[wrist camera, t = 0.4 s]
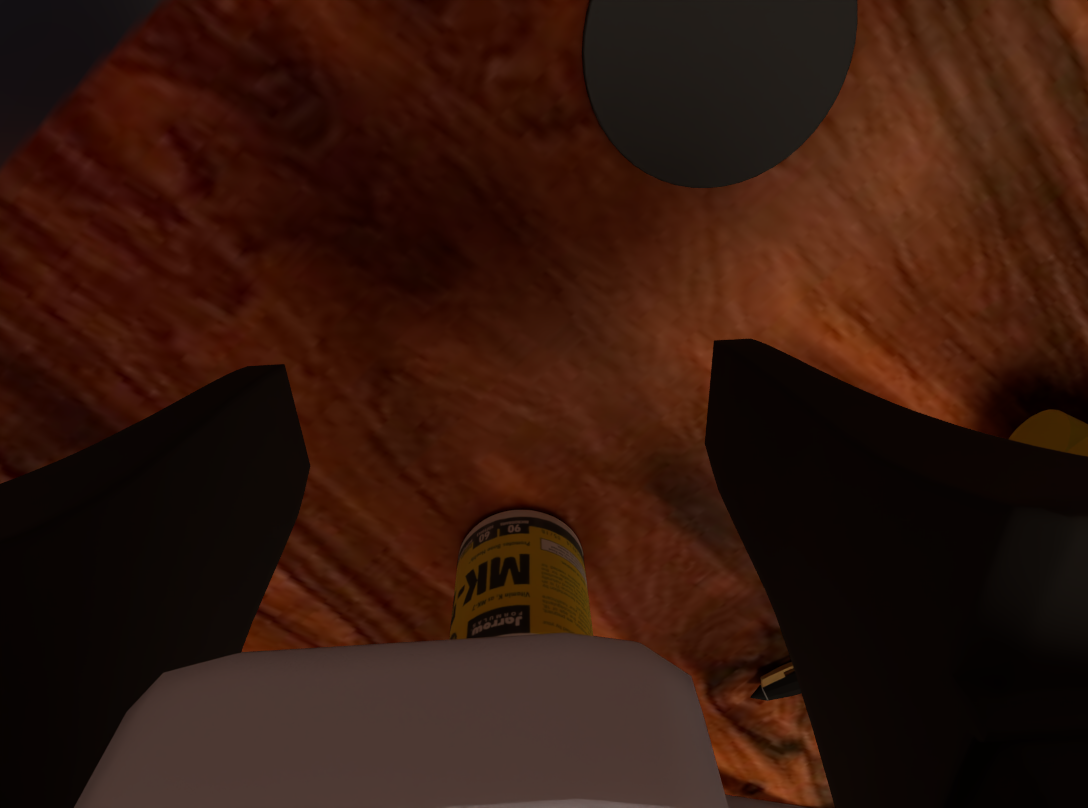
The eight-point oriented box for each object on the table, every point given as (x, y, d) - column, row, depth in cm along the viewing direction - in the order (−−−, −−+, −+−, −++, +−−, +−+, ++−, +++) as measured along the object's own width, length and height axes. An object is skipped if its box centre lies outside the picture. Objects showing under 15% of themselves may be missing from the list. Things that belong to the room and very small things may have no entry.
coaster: (826, 179, 20) (832, 182, 19) (583, 191, 20) (584, 194, 19) (876, -126, 16) (884, -129, 16) (580, -115, 16) (582, -118, 16)
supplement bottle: (524, 483, 25) (530, 683, 17) (607, 555, 26) (644, 762, 19) (431, 553, 26) (400, 765, 19) (516, 617, 28) (518, 832, 21)
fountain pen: (1078, 574, 28) (1075, 551, 28) (1100, 595, 27) (1098, 572, 27) (749, 693, 31) (739, 675, 30) (758, 717, 30) (748, 698, 29)
